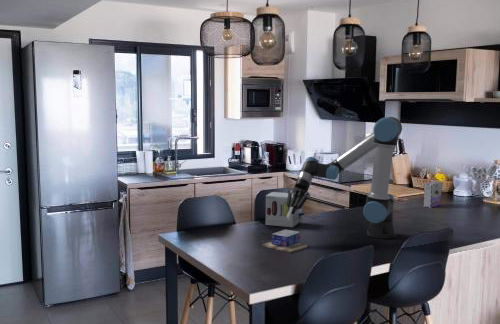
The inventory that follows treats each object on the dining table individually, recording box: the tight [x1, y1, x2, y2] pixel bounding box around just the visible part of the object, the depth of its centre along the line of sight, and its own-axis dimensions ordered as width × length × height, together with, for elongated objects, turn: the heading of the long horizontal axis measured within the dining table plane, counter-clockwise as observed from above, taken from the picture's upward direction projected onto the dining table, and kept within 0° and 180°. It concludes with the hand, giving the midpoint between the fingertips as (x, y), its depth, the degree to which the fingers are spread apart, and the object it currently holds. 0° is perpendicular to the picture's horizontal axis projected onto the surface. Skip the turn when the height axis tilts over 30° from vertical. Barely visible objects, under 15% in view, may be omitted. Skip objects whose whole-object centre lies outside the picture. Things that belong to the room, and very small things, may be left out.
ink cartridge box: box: [270, 229, 301, 247], centre depth 260 cm, size 10×6×14 cm
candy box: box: [422, 181, 443, 209], centre depth 355 cm, size 14×6×16 cm, turn 130°
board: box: [261, 241, 308, 254], centre depth 259 cm, size 18×14×1 cm
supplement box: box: [265, 191, 300, 228], centre depth 306 cm, size 17×13×18 cm
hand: (288, 218), depth 263 cm, fingers closed
